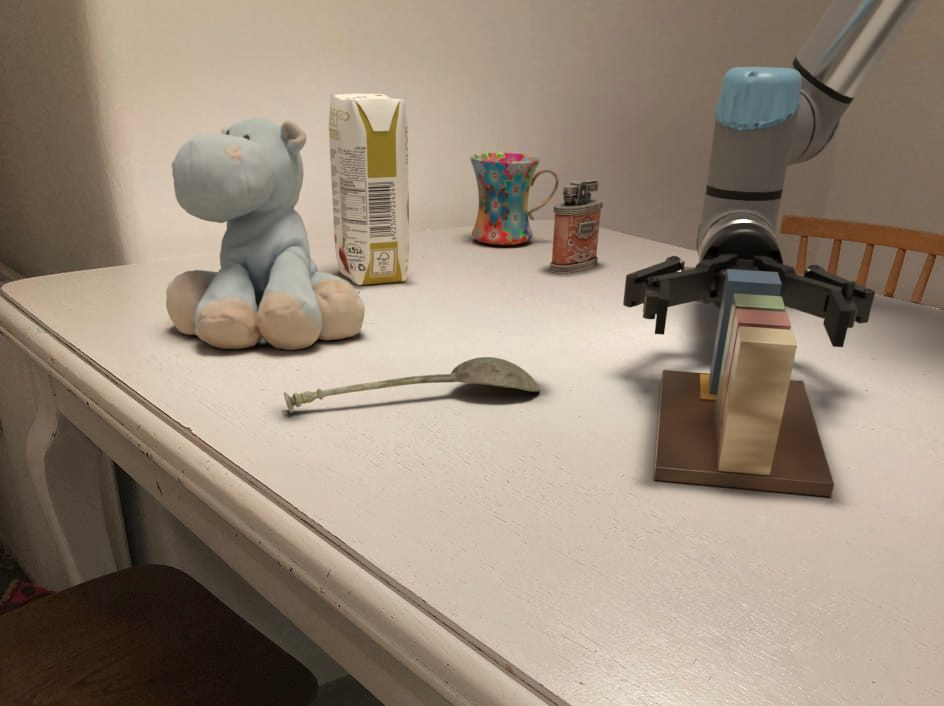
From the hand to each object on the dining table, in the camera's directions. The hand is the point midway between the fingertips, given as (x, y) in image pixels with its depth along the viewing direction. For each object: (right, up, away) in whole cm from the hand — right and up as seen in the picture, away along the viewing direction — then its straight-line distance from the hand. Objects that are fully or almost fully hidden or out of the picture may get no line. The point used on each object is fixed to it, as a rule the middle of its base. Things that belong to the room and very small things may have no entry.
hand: (750, 323), depth 74 cm
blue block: (0, -3, +6) cm, 7 cm away
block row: (-1, -8, +1) cm, 8 cm away
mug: (-16, +31, +60) cm, 69 cm away
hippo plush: (-42, +8, +25) cm, 49 cm away
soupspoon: (-26, -5, +6) cm, 27 cm away
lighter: (-8, +23, +48) cm, 53 cm away
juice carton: (-33, +19, +41) cm, 56 cm away
